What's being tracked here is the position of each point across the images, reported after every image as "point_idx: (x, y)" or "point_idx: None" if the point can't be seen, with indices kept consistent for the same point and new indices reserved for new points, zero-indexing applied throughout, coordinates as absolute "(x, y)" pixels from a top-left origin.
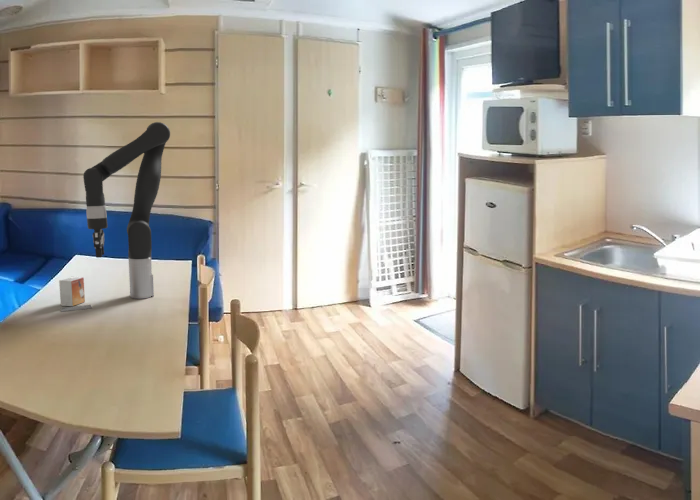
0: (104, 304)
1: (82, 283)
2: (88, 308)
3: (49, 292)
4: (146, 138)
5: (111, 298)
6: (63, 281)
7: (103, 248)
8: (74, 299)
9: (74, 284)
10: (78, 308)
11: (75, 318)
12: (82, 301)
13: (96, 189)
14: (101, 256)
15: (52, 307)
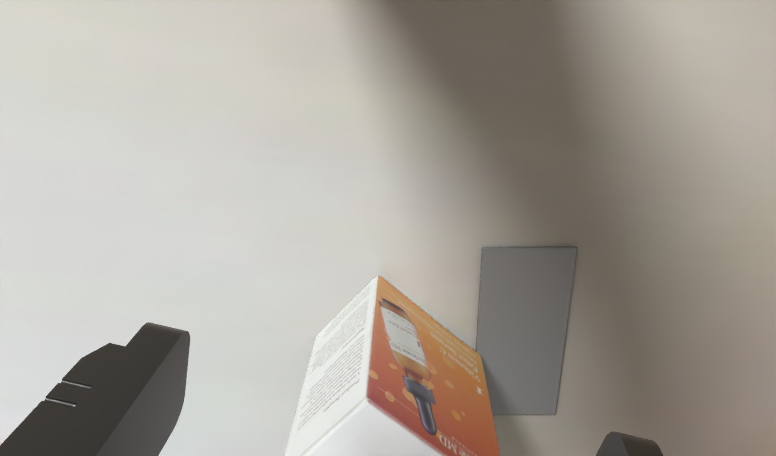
0: (510, 153)
1: (389, 374)
2: (573, 270)
3: None
4: None
5: (345, 74)
6: None
7: (112, 430)
8: (469, 369)
9: (476, 449)
10: (543, 326)
11: (749, 356)
12: (401, 296)
13: None
14: (652, 448)
15: None
